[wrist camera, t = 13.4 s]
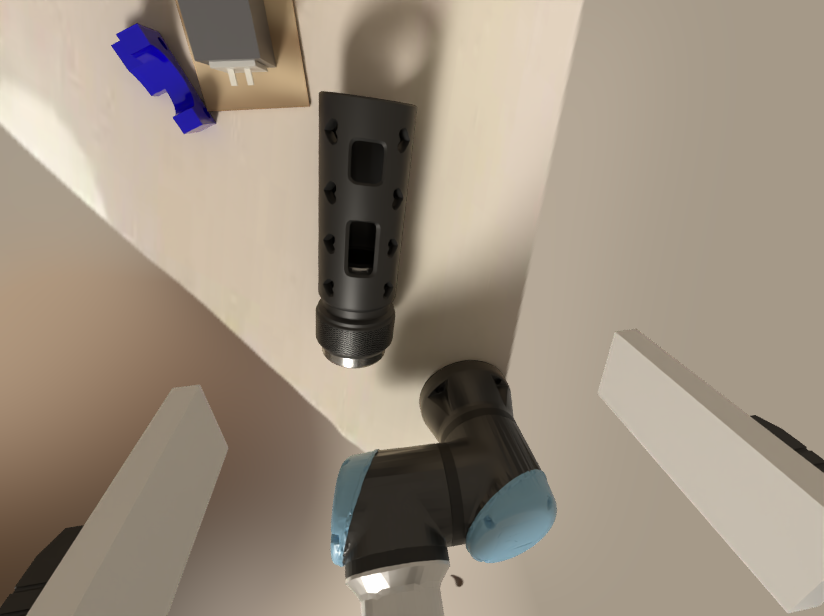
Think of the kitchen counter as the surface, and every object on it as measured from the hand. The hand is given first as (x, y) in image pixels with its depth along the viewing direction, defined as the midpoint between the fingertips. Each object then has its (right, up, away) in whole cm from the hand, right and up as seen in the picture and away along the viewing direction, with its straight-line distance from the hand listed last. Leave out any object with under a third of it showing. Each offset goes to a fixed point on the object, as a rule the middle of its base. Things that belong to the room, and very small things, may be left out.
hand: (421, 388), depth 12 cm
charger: (-16, +28, +21) cm, 39 cm away
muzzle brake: (-7, +12, +33) cm, 36 cm away
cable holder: (-24, +24, +23) cm, 41 cm away
